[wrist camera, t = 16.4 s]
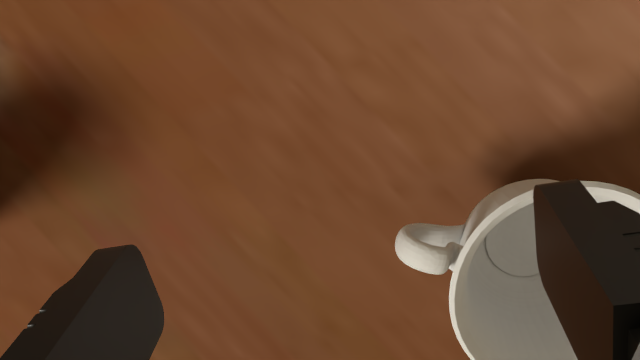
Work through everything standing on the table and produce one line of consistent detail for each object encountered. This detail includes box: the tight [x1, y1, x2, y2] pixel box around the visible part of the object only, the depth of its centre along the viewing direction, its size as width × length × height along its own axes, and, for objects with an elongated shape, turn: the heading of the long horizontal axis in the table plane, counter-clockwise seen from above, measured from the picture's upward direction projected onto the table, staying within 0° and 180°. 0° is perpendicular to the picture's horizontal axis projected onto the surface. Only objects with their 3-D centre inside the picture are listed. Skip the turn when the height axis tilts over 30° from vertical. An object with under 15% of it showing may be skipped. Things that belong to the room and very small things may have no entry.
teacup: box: [395, 179, 640, 360], centre depth 33 cm, size 12×15×10 cm
